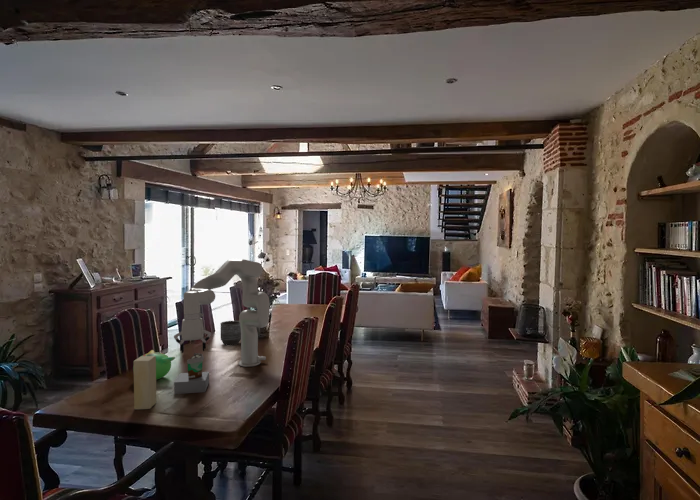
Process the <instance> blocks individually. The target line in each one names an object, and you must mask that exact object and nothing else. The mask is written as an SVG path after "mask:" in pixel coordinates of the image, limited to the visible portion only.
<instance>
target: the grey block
mask: <svg viewBox="0 0 700 500" xmlns="http://www.w3.org/2000/svg"><path fill="white" fill-rule="evenodd" d="M209 384H210V372H209V371H202V376H201V377H199V378H196V379H188V372H180V373H179V374H178V375H177V377H176V378H175V380H174V381H173V394H174V395H181V394H195V393H206V392H207V389H208V386H209Z"/></svg>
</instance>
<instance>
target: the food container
mask: <svg viewBox="0 0 700 500" xmlns="http://www.w3.org/2000/svg"><path fill="white" fill-rule="evenodd" d="M204 359H205V357H204V355H203V353H200V352H198V353H197V352H196V353H195V352H194V353H193V356H191V357H190V358H188V359H187V360H186V364H187V373H188V379H196V378H199V377H201V376H202V372H203V361H204Z"/></svg>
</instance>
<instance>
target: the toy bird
mask: <svg viewBox="0 0 700 500" xmlns="http://www.w3.org/2000/svg"><path fill="white" fill-rule="evenodd" d="M141 356H156V381H157V380H160V379H162V378H164V377H165V376H166V375H167V374H169V372H170V370H171V368H172V361H174V360H175V359H176V357H175V356H168V354H165V353H162V352H159V351H158V352H156V351H154V349H151V350H150V351H149V352H148V353H145V354H143V355H141ZM132 370H133V372H134V365H133V367H132Z"/></svg>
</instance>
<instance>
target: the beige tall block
mask: <svg viewBox="0 0 700 500" xmlns="http://www.w3.org/2000/svg"><path fill="white" fill-rule="evenodd" d="M133 366H134V371H133V397H134V398H133V399H134V400H133V403H134V405H133V408H134V410H151V409H152V408H153V407H154V405H156V403H157V380H156V356H142V355H141V356H139V357H137V358H136V359H135V360H133Z"/></svg>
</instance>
